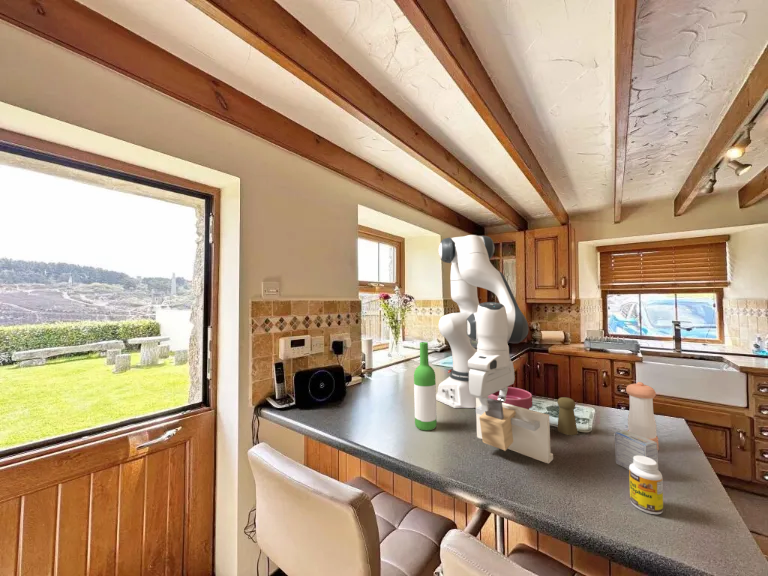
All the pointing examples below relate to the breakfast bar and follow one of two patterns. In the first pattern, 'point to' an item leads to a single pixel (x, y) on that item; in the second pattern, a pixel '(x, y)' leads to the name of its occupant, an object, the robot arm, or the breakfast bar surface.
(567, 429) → the pepper shaker
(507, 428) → the oak cabinet block
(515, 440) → the wall board
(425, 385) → the wine bottle
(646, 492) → the supplement bottle
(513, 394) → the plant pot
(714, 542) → the breakfast bar surface
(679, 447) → the breakfast bar surface
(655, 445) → the medicine box
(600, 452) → the breakfast bar surface
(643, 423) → the pepper shaker
